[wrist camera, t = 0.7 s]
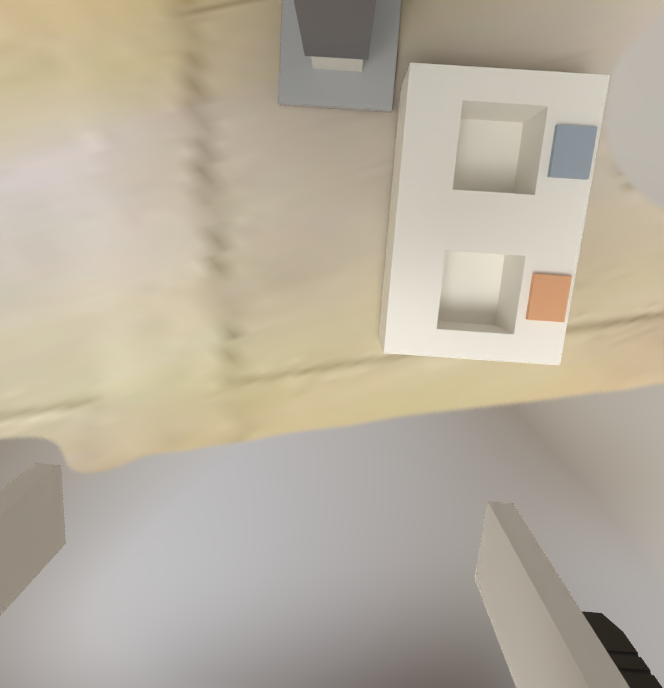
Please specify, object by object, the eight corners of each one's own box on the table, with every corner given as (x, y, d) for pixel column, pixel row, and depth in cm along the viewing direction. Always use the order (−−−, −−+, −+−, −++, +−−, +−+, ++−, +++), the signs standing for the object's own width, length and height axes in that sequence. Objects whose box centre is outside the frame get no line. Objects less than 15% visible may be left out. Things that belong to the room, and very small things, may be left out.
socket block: (400, 89, 33) (411, 59, 28) (570, 100, 33) (613, 72, 27) (378, 338, 37) (384, 354, 31) (530, 349, 36) (562, 366, 31)
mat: (284, -23, 32) (283, -28, 31) (402, -16, 31) (403, -20, 31) (279, 105, 33) (278, 102, 33) (391, 112, 33) (392, 109, 33)
